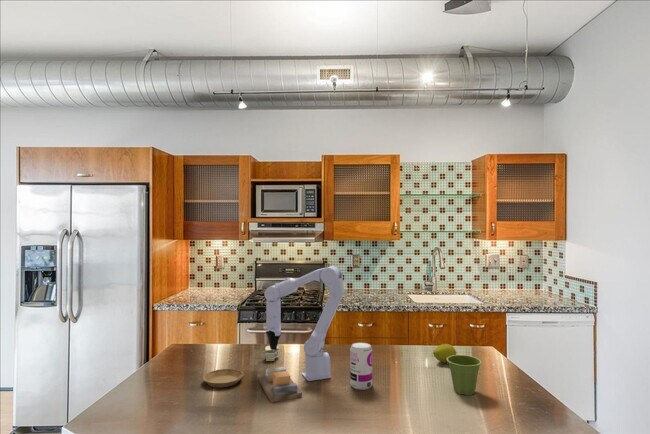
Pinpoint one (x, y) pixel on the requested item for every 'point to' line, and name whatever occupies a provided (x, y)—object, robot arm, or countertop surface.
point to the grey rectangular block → (273, 370)
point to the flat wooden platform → (279, 390)
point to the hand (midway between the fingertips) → (273, 349)
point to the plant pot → (464, 373)
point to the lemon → (444, 352)
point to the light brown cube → (281, 378)
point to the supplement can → (361, 366)
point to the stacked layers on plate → (271, 353)
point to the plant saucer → (223, 377)
